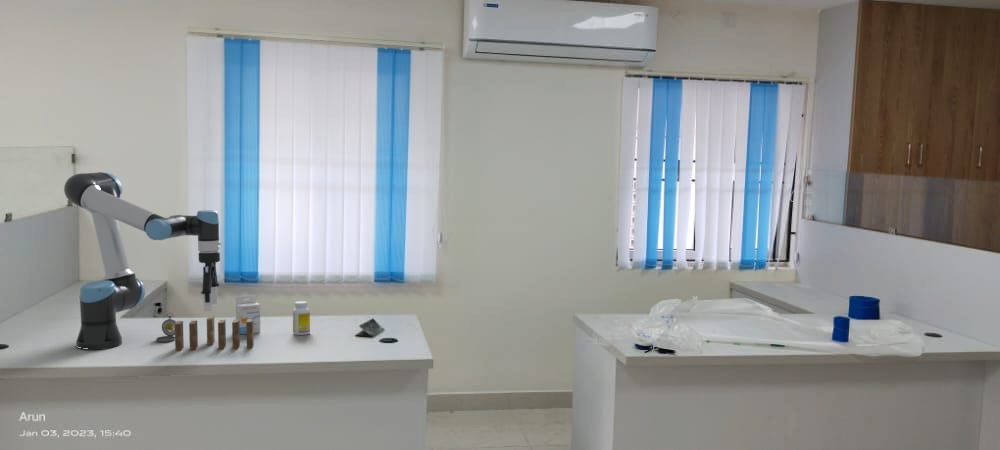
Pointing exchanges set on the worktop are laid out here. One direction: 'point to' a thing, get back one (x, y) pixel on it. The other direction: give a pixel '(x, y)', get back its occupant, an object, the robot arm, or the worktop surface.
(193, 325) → the domino
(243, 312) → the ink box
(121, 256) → the robot arm
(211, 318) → the tile
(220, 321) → the domino
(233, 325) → the domino
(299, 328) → the supplement bottle
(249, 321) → the domino
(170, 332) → the pocket watch
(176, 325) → the domino
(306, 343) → the worktop surface
